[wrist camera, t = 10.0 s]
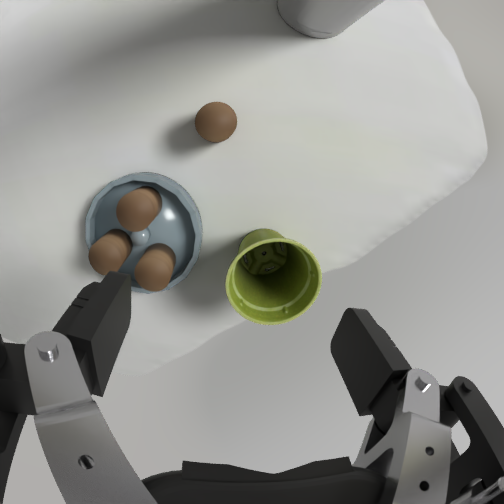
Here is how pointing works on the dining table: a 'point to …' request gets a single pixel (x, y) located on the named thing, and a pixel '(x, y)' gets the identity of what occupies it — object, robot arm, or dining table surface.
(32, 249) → the dining table surface
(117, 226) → the grey-blue shallow round dish
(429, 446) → the robot arm
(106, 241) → the seated bead
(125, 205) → the brown rounded dome
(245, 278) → the plant pot
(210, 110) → the pile bead
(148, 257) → the seated bead
